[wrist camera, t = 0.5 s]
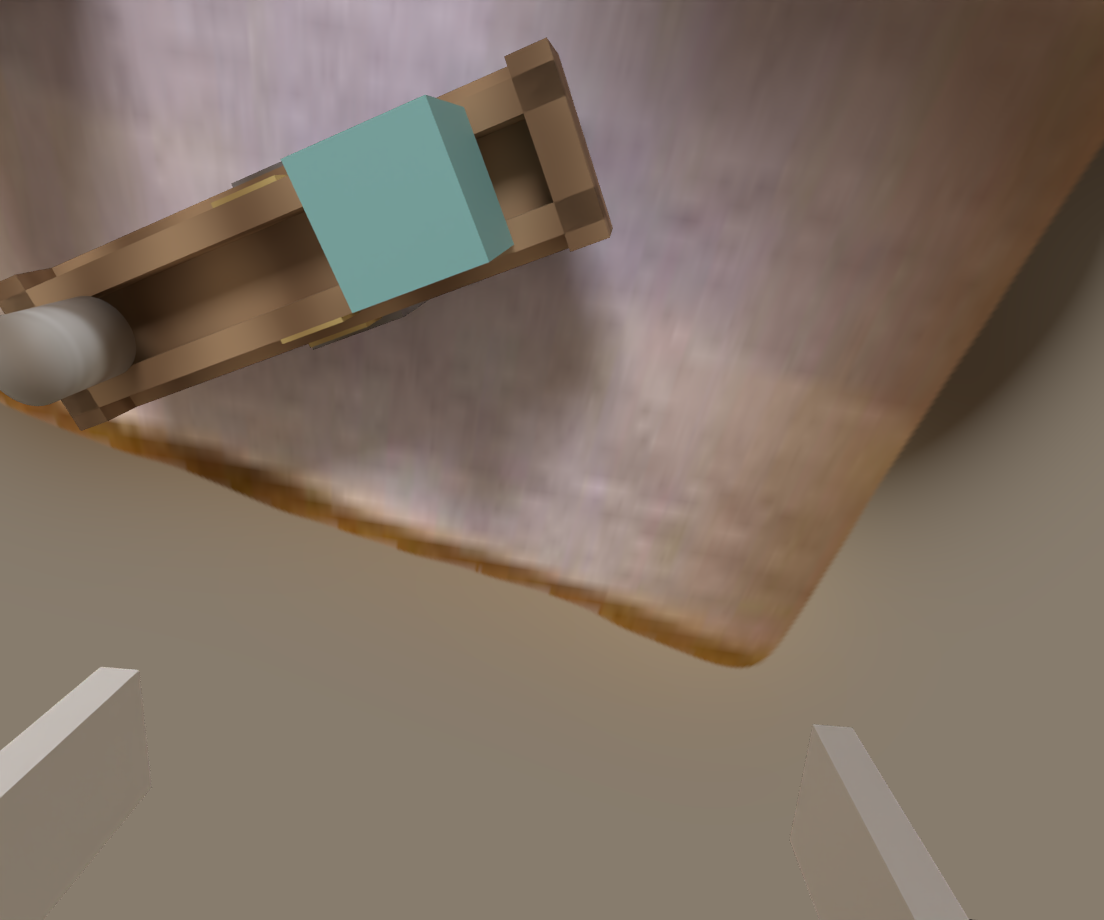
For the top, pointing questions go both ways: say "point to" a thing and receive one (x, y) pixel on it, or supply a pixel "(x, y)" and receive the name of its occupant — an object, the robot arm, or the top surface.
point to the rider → (400, 201)
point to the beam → (277, 264)
